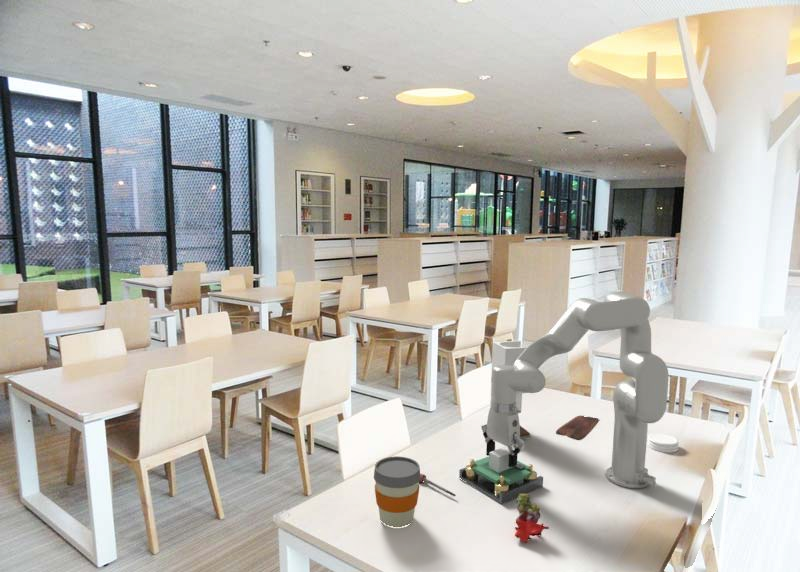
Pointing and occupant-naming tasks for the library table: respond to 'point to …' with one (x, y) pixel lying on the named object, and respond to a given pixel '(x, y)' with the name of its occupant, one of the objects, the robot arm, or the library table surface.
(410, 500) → the reusable coffee cup
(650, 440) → the white plate stack
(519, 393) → the tall white box
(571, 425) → the wooden tablet
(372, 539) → the library table surface
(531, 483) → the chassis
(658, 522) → the library table surface
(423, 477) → the screwdriver
